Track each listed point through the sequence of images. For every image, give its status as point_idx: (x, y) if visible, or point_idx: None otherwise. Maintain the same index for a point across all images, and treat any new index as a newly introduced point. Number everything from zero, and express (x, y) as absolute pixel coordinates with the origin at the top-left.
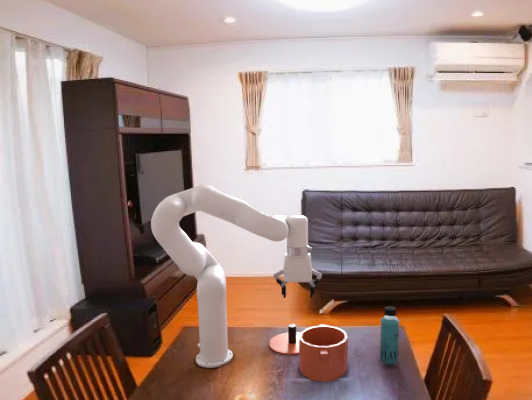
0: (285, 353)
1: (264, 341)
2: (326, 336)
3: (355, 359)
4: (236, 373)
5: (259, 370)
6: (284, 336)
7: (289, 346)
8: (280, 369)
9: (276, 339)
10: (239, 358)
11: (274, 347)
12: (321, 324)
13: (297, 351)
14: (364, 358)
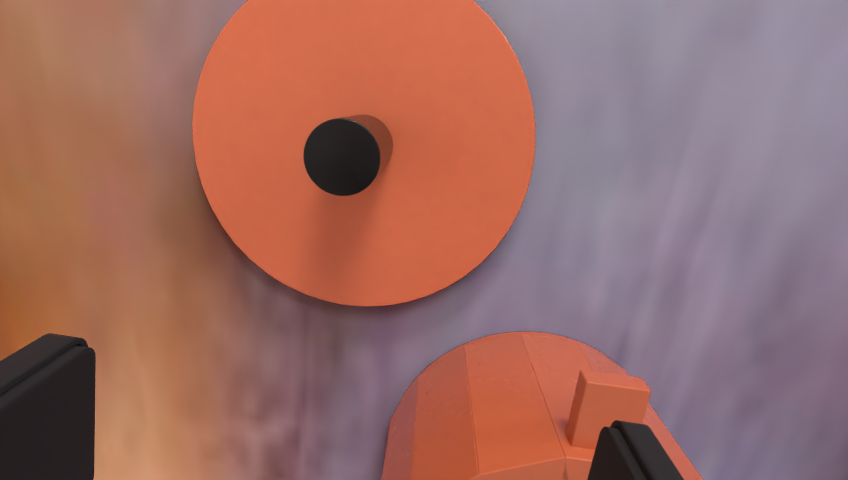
0: (308, 294)
1: (160, 50)
2: None
3: (732, 393)
4: None
5: (164, 416)
6: (306, 38)
7: (338, 212)
8: (280, 425)
9: (243, 83)
10: (24, 268)
11: (232, 209)
12: (605, 390)
13: (388, 289)
14: (790, 391)
